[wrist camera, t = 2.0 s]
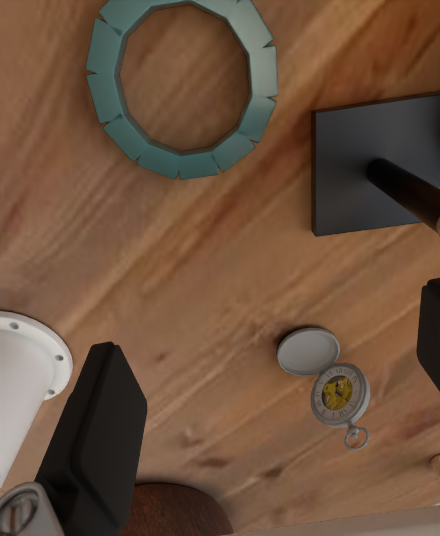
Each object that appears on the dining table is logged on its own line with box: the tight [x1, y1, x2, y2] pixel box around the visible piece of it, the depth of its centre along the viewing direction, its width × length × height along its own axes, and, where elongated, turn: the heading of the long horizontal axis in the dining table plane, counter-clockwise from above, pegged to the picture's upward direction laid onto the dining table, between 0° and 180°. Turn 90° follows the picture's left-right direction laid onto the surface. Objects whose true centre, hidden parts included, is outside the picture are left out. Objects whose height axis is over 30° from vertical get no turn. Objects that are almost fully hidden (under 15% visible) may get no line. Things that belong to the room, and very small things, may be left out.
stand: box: [312, 91, 440, 237], centre depth 23 cm, size 10×10×13 cm
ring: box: [86, 0, 278, 180], centre depth 25 cm, size 13×13×2 cm
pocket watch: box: [277, 328, 370, 450], centre depth 35 cm, size 8×8×10 cm
